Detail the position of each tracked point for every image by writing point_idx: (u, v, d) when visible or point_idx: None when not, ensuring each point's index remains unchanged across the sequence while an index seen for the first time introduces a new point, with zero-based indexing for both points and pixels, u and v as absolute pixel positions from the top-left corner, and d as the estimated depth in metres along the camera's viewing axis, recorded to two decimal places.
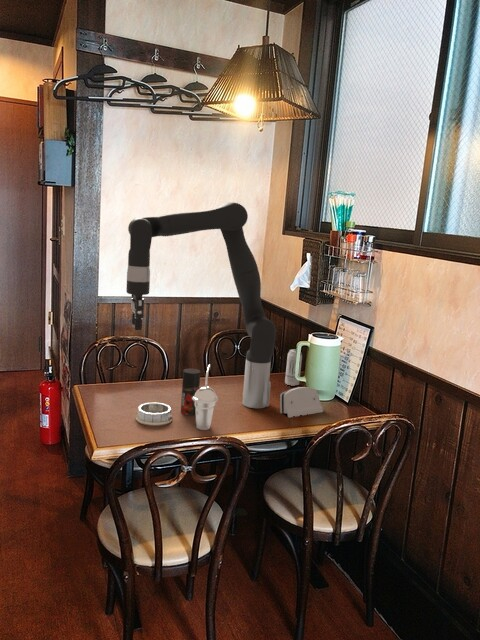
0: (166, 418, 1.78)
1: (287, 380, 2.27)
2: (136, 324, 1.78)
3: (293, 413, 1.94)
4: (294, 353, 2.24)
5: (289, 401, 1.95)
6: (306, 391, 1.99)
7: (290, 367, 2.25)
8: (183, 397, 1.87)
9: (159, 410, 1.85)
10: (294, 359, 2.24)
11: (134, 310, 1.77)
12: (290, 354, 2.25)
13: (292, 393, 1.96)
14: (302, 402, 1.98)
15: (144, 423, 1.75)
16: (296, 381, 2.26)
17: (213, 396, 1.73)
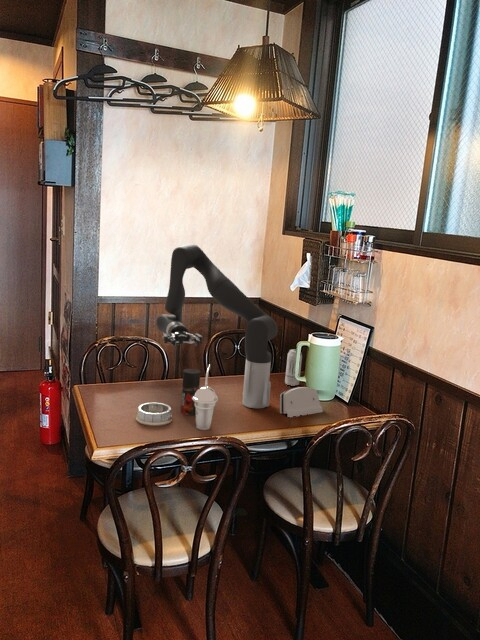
0: (166, 418, 1.78)
1: (287, 380, 2.27)
2: (171, 343, 1.96)
3: (293, 413, 1.93)
4: (294, 353, 2.24)
5: (288, 401, 1.95)
6: (306, 391, 1.99)
7: (290, 367, 2.25)
8: (183, 397, 1.87)
9: (159, 410, 1.85)
10: (294, 359, 2.24)
11: None
12: (290, 354, 2.25)
13: (292, 393, 1.96)
14: (302, 402, 1.97)
15: (144, 423, 1.75)
16: (296, 381, 2.26)
17: (213, 396, 1.73)
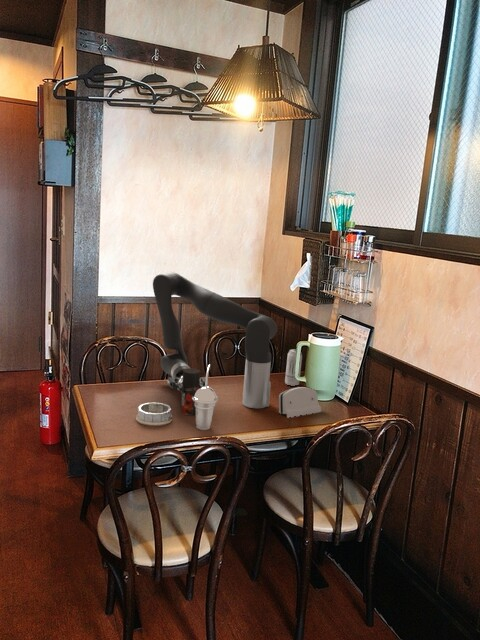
0: (166, 418, 1.78)
1: (287, 380, 2.27)
2: None
3: (292, 413, 1.93)
4: (294, 353, 2.24)
5: (288, 401, 1.94)
6: (304, 391, 1.99)
7: (290, 367, 2.25)
8: (183, 397, 1.87)
9: (159, 410, 1.85)
10: (294, 359, 2.24)
11: None
12: (290, 354, 2.25)
13: (291, 393, 1.95)
14: (301, 402, 1.97)
15: (144, 423, 1.75)
16: (296, 381, 2.26)
17: (213, 396, 1.73)
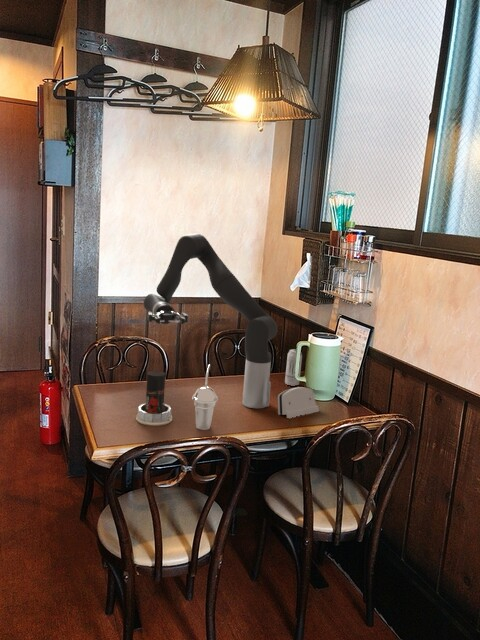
0: (166, 418, 1.78)
1: (287, 380, 2.27)
2: (156, 321, 1.93)
3: (292, 414, 1.93)
4: (294, 353, 2.24)
5: (287, 402, 1.93)
6: (302, 391, 1.99)
7: (290, 367, 2.25)
8: (147, 401, 1.78)
9: None
10: (294, 359, 2.24)
11: None
12: (290, 354, 2.25)
13: (290, 394, 1.95)
14: (299, 402, 1.97)
15: (144, 423, 1.75)
16: (296, 381, 2.26)
17: (213, 396, 1.73)
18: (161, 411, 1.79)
